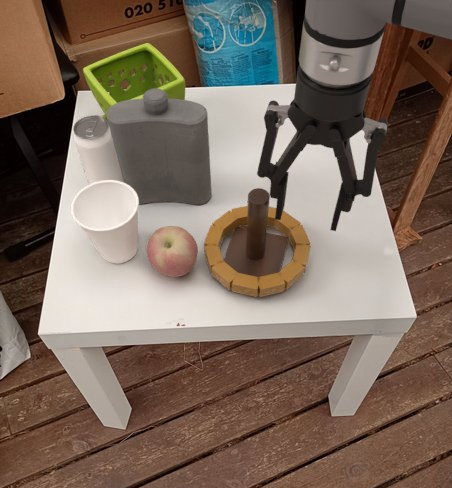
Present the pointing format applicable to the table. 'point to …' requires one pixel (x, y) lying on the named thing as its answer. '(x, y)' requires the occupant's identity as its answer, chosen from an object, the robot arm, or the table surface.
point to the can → (96, 149)
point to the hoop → (252, 283)
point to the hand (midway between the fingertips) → (306, 217)
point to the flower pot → (133, 76)
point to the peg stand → (256, 241)
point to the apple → (172, 251)
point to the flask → (162, 147)
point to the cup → (109, 218)
